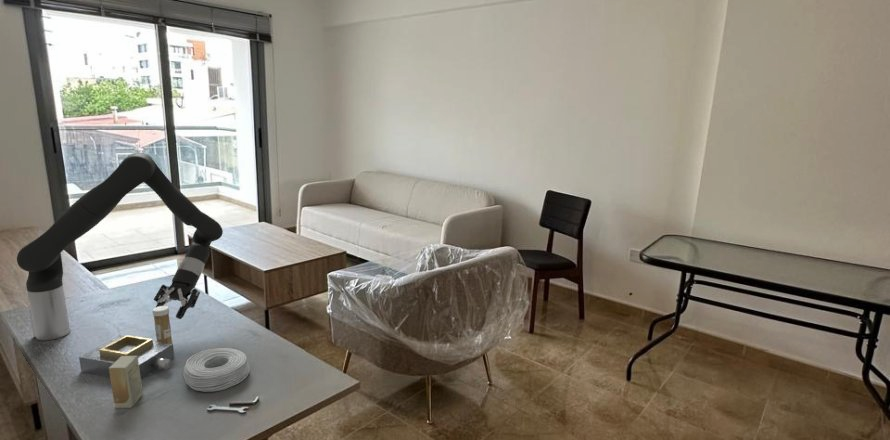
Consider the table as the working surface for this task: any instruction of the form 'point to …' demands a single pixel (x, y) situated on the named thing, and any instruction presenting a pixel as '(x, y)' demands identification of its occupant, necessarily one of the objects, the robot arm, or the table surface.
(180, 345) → the table surface
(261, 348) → the table surface
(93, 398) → the table surface
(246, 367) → the cable
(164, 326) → the sprinkles bottle
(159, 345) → the grey block with recess
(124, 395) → the skincare box
